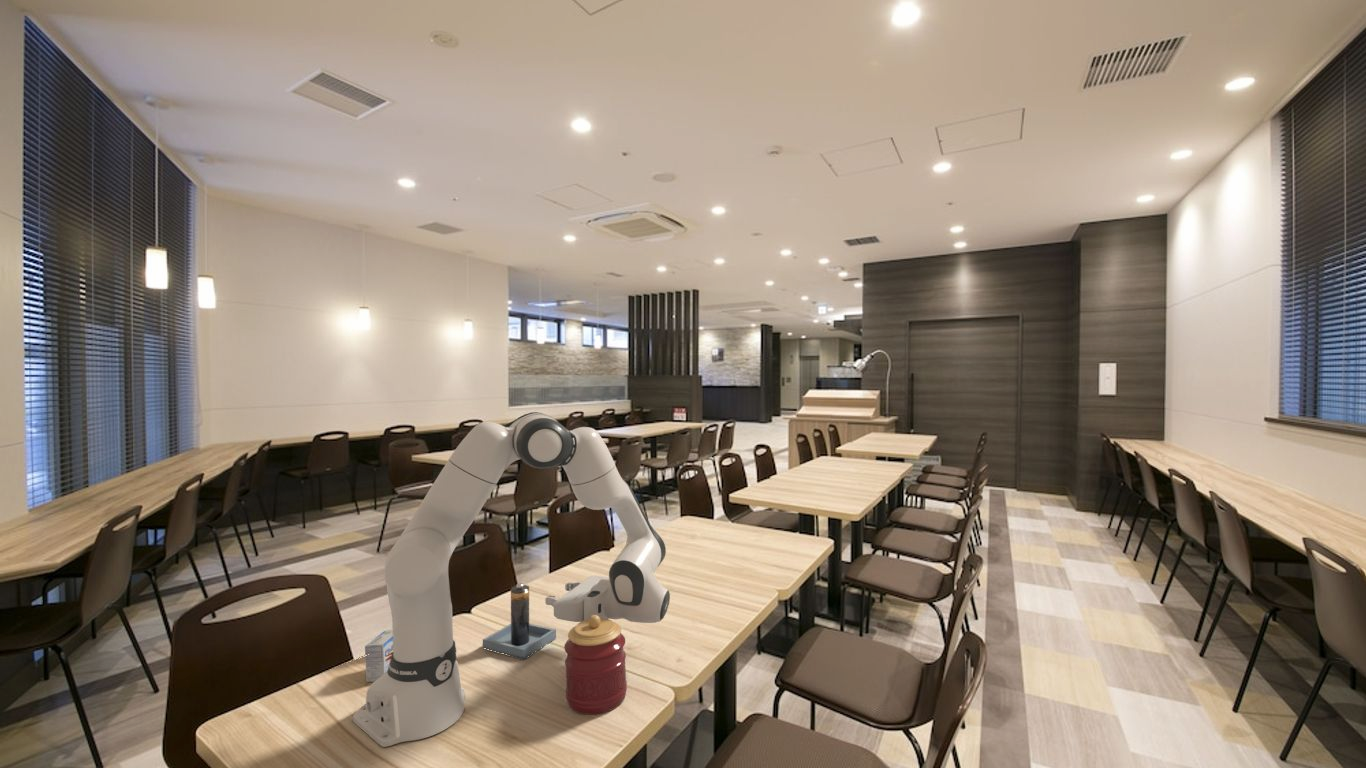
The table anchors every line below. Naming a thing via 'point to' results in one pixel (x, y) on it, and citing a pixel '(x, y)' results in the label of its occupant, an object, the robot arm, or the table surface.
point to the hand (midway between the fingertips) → (557, 592)
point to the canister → (595, 666)
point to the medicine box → (378, 655)
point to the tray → (537, 639)
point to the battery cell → (519, 614)
